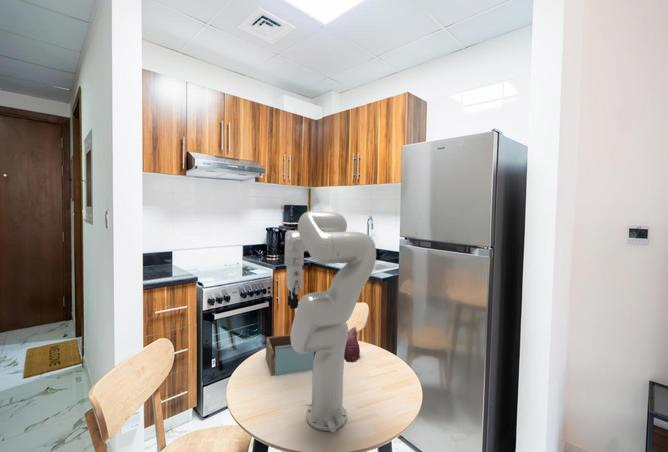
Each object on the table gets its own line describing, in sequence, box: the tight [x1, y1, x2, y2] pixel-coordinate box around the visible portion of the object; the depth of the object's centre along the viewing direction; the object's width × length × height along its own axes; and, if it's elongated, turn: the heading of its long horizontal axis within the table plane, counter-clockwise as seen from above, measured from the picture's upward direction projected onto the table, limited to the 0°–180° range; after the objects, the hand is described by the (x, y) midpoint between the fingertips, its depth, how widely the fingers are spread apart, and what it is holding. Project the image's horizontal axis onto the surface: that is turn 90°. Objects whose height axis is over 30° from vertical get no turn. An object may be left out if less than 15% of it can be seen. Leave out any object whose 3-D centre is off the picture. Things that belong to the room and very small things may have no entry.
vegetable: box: [344, 326, 361, 363], centre depth 135 cm, size 10×10×15 cm
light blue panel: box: [274, 345, 314, 376], centre depth 118 cm, size 1×15×11 cm, turn 110°
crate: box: [265, 334, 317, 377], centre depth 125 cm, size 15×18×10 cm
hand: (292, 306), depth 122 cm, fingers open, 3 cm apart
